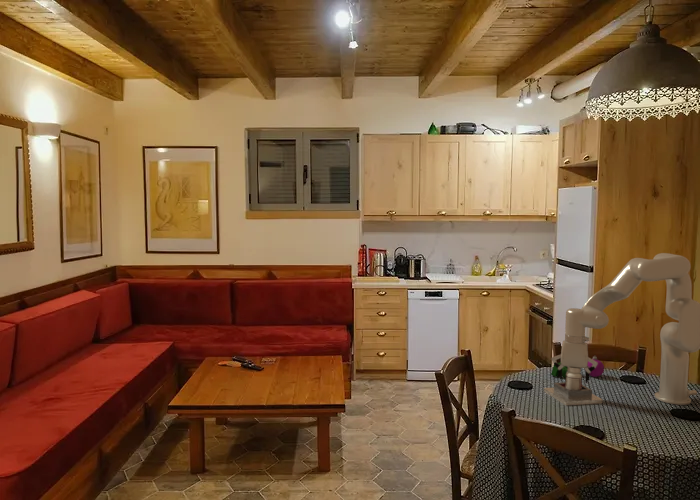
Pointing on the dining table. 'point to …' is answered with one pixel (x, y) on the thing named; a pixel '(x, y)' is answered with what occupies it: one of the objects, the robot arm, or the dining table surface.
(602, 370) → the christmas ornament
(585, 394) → the docking plate
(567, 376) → the pill bottle
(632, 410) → the dining table surface
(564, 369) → the green lumpy block
